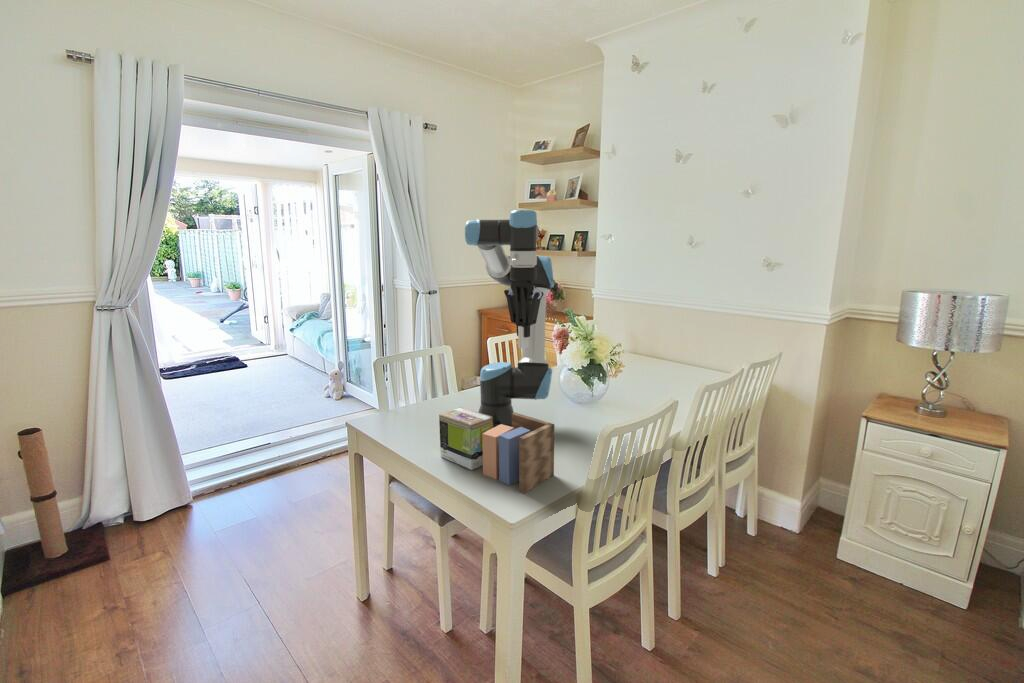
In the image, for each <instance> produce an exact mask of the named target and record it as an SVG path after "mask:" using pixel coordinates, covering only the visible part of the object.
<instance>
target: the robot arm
mask: <svg viewBox="0 0 1024 683" xmlns="http://www.w3.org/2000/svg"><path fill="white" fill-rule="evenodd" d="M537 218H538V216H537V212H536V211H535V210H532V209H516V210H511V211H510V213H509V219H472V220H467V221H466V223H465V225H464V240H465V242H466V244H467V246H475V247H477V248H478V249H479V251H480V254H481V256H482V258H483V260H484V262H485V269H486V272H487V275H488V276H489V277H490V278H492V279H493V280H494V281H496V282H497V283H499V284H500V285H503V286H507V287H508V289H504V291H503V293H504V295H505V298H506V301H507V302H506V303H507V307H508V312H509V318H510V322H511V323H513V324H515V325H516V336H517V339H518V340H517V341H518V343H517V345H518V346H517V347H518V349H521V358H520V360H518V361H517V367H516V366H515V367H513V366H512V363H511V362H506V361H500V362H493V363H489V364H486V365H484V366H483V367H481V369H480V375H479V385H480V386H479V387H480V389H479V392H480V405H479V406H480V407H479V409H478V413H481V414H485V415H488V416H491V417H493V428H494V427H496V426H498V425H500V424H503V425H506V426H510V427H512V414H513V413H515V412H514V408H513V405H512V400H513V399H515V400H516V399H517V400H535V401H537V400H546V399H547V398H548V397H549V394H550V390H551V384H552V383H551V382H552V377H553V368H552V367H549V366H550V364H549V362H548V361H547V359H546V358H545V356H546V318H547V317H546V312H547V311H546V310H547V308H546V307H547V296H548V295H549V293H551V288H554V286H555V282H554V273H553V264H552V259H551V258H550V257H549V256H545V255H544V256H542V255H538V254H537V240H538V239H539V236H540V228H539V226H538V219H537ZM503 246H509V255H507V254H506V252H505V249H504V247H503Z"/></svg>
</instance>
